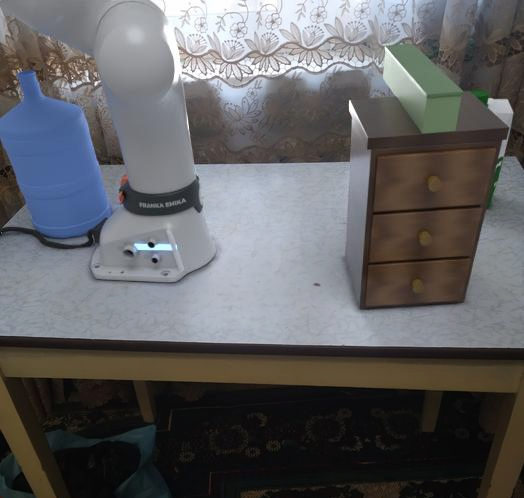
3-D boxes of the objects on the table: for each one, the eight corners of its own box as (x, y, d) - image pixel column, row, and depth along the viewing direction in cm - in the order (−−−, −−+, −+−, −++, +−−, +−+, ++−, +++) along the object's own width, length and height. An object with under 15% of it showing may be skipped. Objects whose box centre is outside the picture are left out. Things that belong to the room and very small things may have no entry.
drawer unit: (357, 316, 79) (370, 143, 62) (342, 257, 92) (349, 99, 74) (471, 309, 79) (515, 132, 61) (440, 251, 91) (469, 90, 74)
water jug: (119, 228, 105) (77, 75, 86) (38, 247, 101) (-23, 92, 83) (106, 197, 116) (66, 56, 98) (33, 214, 112) (-23, 70, 94)
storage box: (421, 134, 63) (426, 94, 60) (382, 78, 81) (384, 45, 78) (456, 131, 63) (463, 91, 60) (409, 76, 81) (412, 43, 78)
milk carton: (443, 189, 109) (461, 85, 95) (489, 191, 107) (514, 85, 94) (445, 209, 102) (465, 100, 89) (494, 211, 100) (522, 100, 87)
